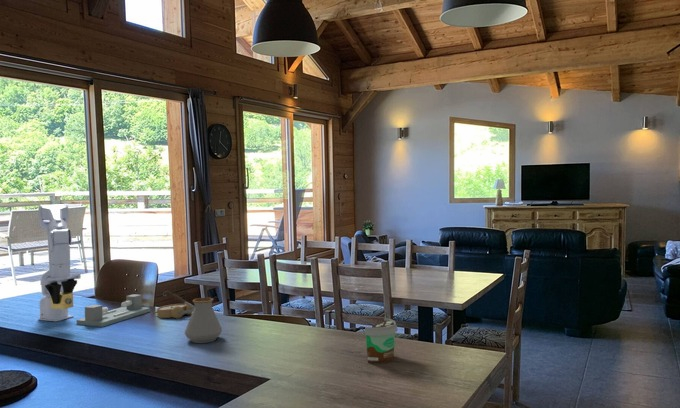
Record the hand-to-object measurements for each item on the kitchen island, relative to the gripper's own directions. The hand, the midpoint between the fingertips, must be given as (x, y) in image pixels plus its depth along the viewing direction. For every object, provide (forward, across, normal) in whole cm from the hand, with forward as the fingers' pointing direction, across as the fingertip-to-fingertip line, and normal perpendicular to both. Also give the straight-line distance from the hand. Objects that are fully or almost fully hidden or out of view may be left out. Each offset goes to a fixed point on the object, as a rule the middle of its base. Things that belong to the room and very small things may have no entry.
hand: (61, 302), depth 175 cm
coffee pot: (+9, +4, -51) cm, 52 cm away
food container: (+9, +3, -116) cm, 116 cm away
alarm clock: (+10, +28, -26) cm, 39 cm away
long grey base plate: (+9, +18, -6) cm, 21 cm away
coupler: (+2, 0, 0) cm, 2 cm away
